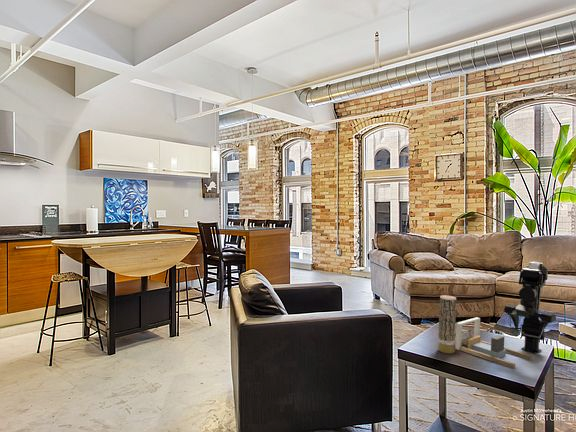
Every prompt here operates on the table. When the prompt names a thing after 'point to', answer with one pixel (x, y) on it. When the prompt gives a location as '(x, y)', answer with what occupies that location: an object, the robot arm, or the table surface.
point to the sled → (488, 346)
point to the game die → (465, 337)
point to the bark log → (447, 324)
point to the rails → (497, 358)
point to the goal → (459, 330)
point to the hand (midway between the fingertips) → (528, 332)
